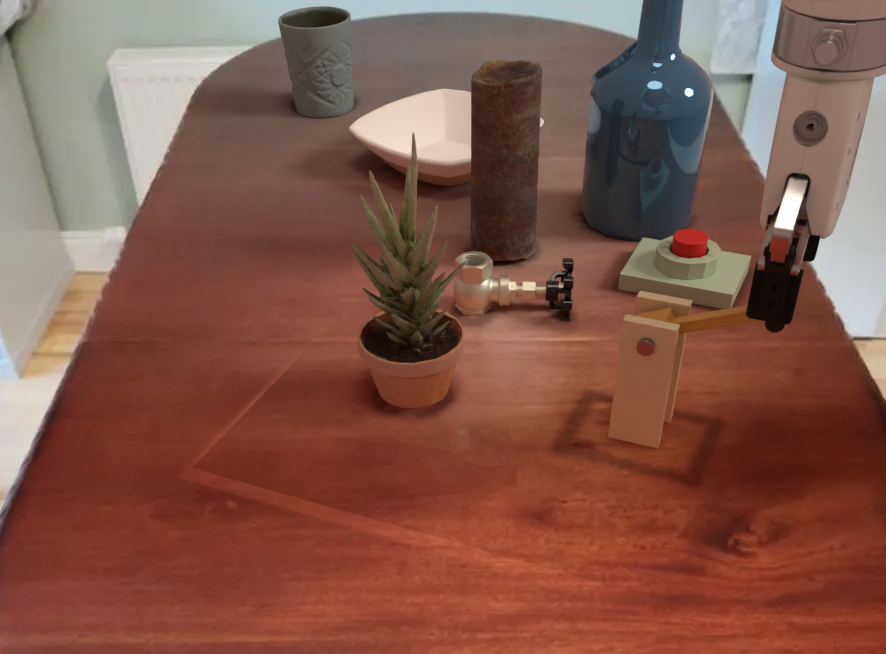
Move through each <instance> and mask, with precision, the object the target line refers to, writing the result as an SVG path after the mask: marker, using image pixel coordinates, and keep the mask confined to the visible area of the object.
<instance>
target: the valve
mask: <svg viewBox="0 0 886 654" xmlns="http://www.w3.org/2000/svg"><path fill="white" fill-rule="evenodd" d="M465 261H466V262H465ZM463 262H465V264H464V266H463V267H462V269H461V270H460V271H459V272H458V273H457V275H456V276H455V279H454V281H453V285H452V295H453V298H454V301H455V304H454V307H455V308H456V309H457V310H458V311H459V312H460V313H461V314H462V316H483V315H484V314H485V313H487V312H488V311H489V310H491V308H493V304H492V303H498V305H499V306H510V300H516V299H517V298H518V297H521V300H536V297H544V298H545V299H544V300H545V302H548V306H549V307H550V309H551V310H561V312H562V314H563V315H564V316H560V321H561V322H564V321H565V322H570V321H571V317H572V314H571V312H572V311H573V299H572V291H573V289H574V282H575V279H574V276H573V272H574V265H575V261H574V259H573V258H572V257H563V258H562V263H561V266H562V268H563V269H564V270H562V269H561V270H556V271H554V272H552V274H551V275H550V277H549V280H545V285H537V282H536V281H522V284H518V283H517V281H511V275H510V274H499V277H497V278H496V277H492V276H494V275H493V271H494V270H493V269H494V261H493V260H492V259H491V258H490V257H489V256H488V255H487V254H485V253H482V252H475V251H474V252H473V251H467V252H463V253H461V254H459V255H458V256H456V258H455V259H454V271H455V270H456V269H457V268H458V267H459V266H460V265H461V264H462V263H463ZM558 278H560V280H557V279H558ZM555 302H561V304H556V303H555Z"/></svg>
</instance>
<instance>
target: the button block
mask: <svg viewBox="0 0 886 654" xmlns="http://www.w3.org/2000/svg"><path fill="white" fill-rule="evenodd" d="M672 241H673V235H672V236H670V237H668V238H665V239H657V240H656V239H650V238H644V237H643V238H642V240H641V241H639V243H638V244H637V246H636V247H635V249H634V250H633V252H632V254H631V255H630V257H629V258H628V260H627V262H626V263H625V265H624V267H623V268H622V270H621V271H620V273H619V275H618V276H619V277H618V283H617V284H618V285H617V290H619V291H624V292H630V293H635V294H638V293H639V292H640V291H644V292H650V293H655V294H660V295H666V296H671V297H676V298H682V299H687V300H692V301H693V302H692V304H694V305H700V306H705V307H710V308H715V309H719V310H723V309H728V308H733V305H734V303H735V301H736V298H737V296H738V294H739V292H740V289H741V287H742V285H743V284H744V281H745V280H746V277H747V275H748V273H749V269H750V265H751V260H752V256H751V255H749V254H744V253H737V252H732V251H725V250H722V249H721V248H720V246H719V245H718V243H717V242H715V241H713V240H711V239H710V238H708V243H707V249H706V254H705V256H703V257H700V258H683V257H678V256H676V255H674V254H673V253H671V247H672Z"/></svg>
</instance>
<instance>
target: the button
mask: <svg viewBox="0 0 886 654" xmlns="http://www.w3.org/2000/svg"><path fill="white" fill-rule="evenodd" d="M672 236H673V241H672V247H671V253H673V254H674V255H676V256H678V257H683V258H700V257H703V256H705V254H706V249H707V243H708V239H709V235H708V234H707V233H706V232H705V231H703V230H700V229H696V228H685V229H682V230H678V231H676V232H675V233H674V235H672Z"/></svg>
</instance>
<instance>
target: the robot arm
mask: <svg viewBox="0 0 886 654" xmlns="http://www.w3.org/2000/svg"><path fill="white" fill-rule="evenodd" d="M773 39H774V40H773V43H772V44H773V45H772V49H771V54H770V61H771V62H772V65H773V66H774V67H776V68H777V69H779V70H780V71H782V72H784V73H785V78H784V82H783V87H782V92H781V98H780V102H779V107H778V111H777V116H776V121H775V122H776V123H775V127H774V133H773V137H772V143H771V149H770V154H769V159H768V163H767V164H768V165H767V169H766V176H765V180H764V181H765V182H764V187H763V193H762V199H761V208H760V214H759V224H760V226H761V227H762V229H763V230H764V231H766V232H765V235H764V239H763V243H762V247H761V251H760V254H759V257H758V262H756V263H755V265H754V271H753V276H752V281H751V286H750V291H749V296H748V301H747V304H746V305H747V310H746V316H747V317H748V318H750V319H755V320H761V321H762V322H765V321H767V322H773V323H778V324H784V325H785V326H786V325H787V326H788V325H790V324H791V323H792V321H793V318H794V315H795V310H796V305H797V303H798V302H797V301H798V298H799V293H800V289H801V285H802V280H803V276H804V272H805V269H801V267H802V263H803V262H807V263H811V262H812V263H813V261H814V260H815V259H816V256H817V254H818V253H817V252H818V250H819V245H820V241H821V240H824V239H826V238H828V237H829V236H831V235H833V234H834V231H835V229H836V225H837V223H838V220H839V219H840V216H841V213H842V210H843V207H844V204H845V202H846V198H847V195H848V192H849V189H850V183H851V180H852V175H853V171H854V167H855V163H856V159H857V155H858V150H859V147H860V143H861V140H862V139H861V138H862V134H863V132H864V131H863V130H864V126H865V123H866V119H867V115H868V111H869V108H870V107H869V106H870V101H871V98H872V93H873V86H874V82H875V79H876V78H879V77H881V76H884V75H886V0H780V6H779V11H778V17H777V23H776V28H775V34H774V38H773ZM761 321H760V322H761Z"/></svg>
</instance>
